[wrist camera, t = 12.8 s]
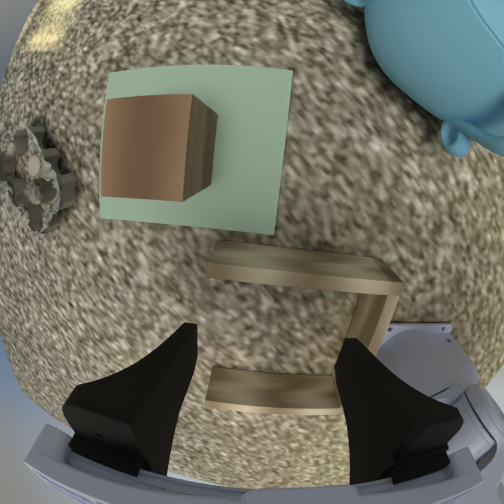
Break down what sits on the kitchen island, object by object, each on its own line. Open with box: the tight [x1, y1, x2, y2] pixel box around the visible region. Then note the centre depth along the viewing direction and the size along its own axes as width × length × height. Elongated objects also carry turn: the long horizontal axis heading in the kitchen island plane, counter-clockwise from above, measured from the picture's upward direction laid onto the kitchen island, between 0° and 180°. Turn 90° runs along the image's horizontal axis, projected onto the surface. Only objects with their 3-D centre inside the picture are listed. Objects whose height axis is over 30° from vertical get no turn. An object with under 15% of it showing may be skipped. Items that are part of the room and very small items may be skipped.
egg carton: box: [0, 119, 77, 242], centre depth 18 cm, size 10×7×4 cm
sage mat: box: [100, 65, 293, 235], centre depth 18 cm, size 14×12×1 cm
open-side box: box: [205, 240, 404, 415], centre depth 21 cm, size 13×14×4 cm
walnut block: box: [101, 94, 218, 202], centre depth 15 cm, size 4×5×7 cm
